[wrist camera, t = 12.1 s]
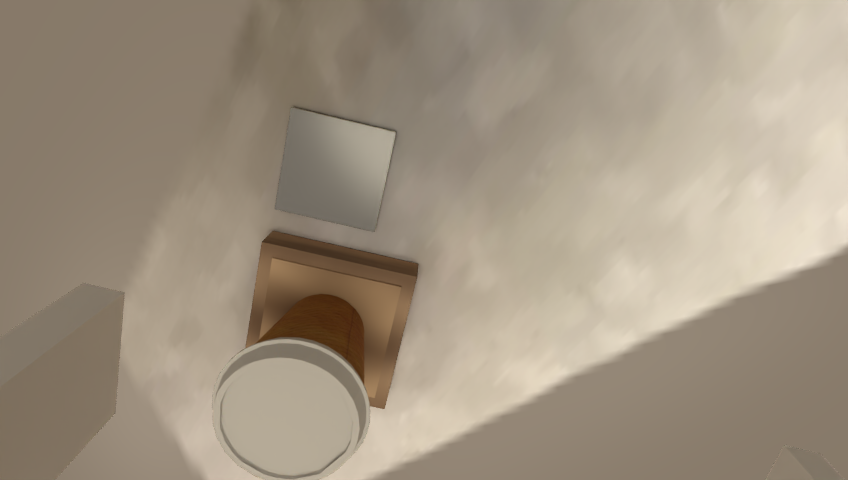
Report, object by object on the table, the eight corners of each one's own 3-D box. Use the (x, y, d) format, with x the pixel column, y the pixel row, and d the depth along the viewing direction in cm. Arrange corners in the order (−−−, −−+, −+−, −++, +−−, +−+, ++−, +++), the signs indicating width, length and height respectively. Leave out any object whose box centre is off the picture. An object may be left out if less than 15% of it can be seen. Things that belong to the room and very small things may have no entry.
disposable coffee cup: (285, 394, 46) (236, 503, 34) (247, 288, 43) (179, 369, 31) (398, 370, 45) (386, 474, 33) (366, 261, 42) (341, 333, 31)
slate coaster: (293, 106, 42) (291, 107, 41) (396, 131, 42) (396, 132, 42) (276, 207, 44) (274, 209, 44) (375, 229, 45) (374, 232, 44)
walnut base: (273, 230, 45) (261, 242, 42) (418, 263, 45) (417, 278, 42) (252, 360, 48) (239, 380, 45) (387, 389, 49) (384, 410, 46)
